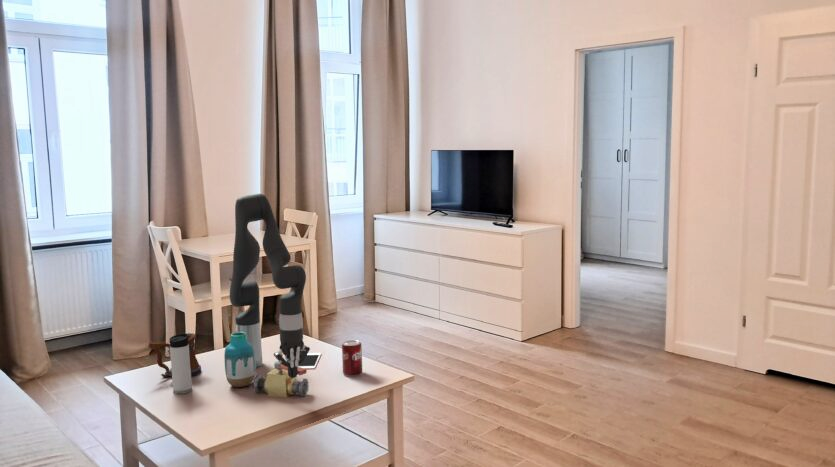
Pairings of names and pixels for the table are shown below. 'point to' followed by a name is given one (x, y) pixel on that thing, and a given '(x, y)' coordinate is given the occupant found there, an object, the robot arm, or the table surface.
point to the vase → (239, 360)
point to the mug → (193, 361)
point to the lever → (280, 366)
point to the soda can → (352, 358)
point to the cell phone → (310, 361)
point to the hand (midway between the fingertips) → (293, 377)
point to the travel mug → (180, 363)
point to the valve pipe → (280, 384)
